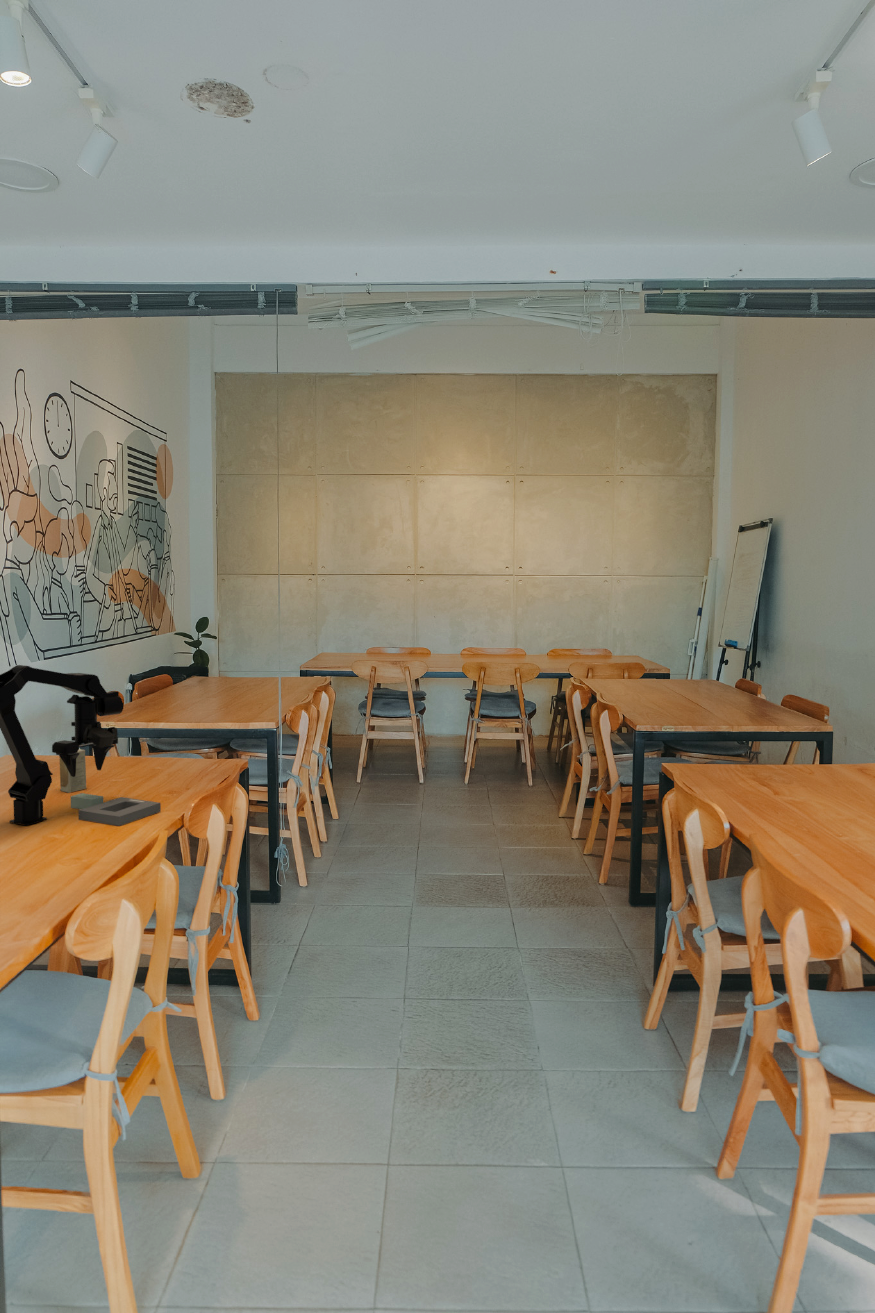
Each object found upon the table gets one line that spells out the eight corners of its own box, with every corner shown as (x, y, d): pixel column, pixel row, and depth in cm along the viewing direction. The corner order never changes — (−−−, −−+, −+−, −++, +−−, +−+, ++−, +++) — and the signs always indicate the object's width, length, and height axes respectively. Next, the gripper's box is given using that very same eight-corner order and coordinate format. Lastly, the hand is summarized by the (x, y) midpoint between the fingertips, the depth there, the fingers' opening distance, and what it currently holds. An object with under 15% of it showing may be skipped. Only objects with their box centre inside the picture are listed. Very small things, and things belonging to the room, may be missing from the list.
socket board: (119, 826, 211) (119, 816, 211) (78, 819, 216) (78, 809, 216) (160, 811, 225) (160, 802, 225) (121, 805, 231) (121, 796, 230)
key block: (92, 812, 225) (92, 799, 224) (70, 808, 228) (70, 796, 227) (103, 808, 228) (103, 796, 228) (82, 805, 231) (81, 793, 231)
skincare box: (78, 787, 251) (77, 748, 250) (87, 789, 249) (86, 749, 248) (59, 791, 246) (58, 751, 245) (68, 793, 243) (67, 753, 242)
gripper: (81, 725, 214) (82, 783, 215) (132, 716, 232) (133, 770, 233) (50, 722, 218) (50, 779, 220) (102, 713, 236) (103, 766, 237)
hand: (86, 773), depth 227 cm, fingers open, 9 cm apart
